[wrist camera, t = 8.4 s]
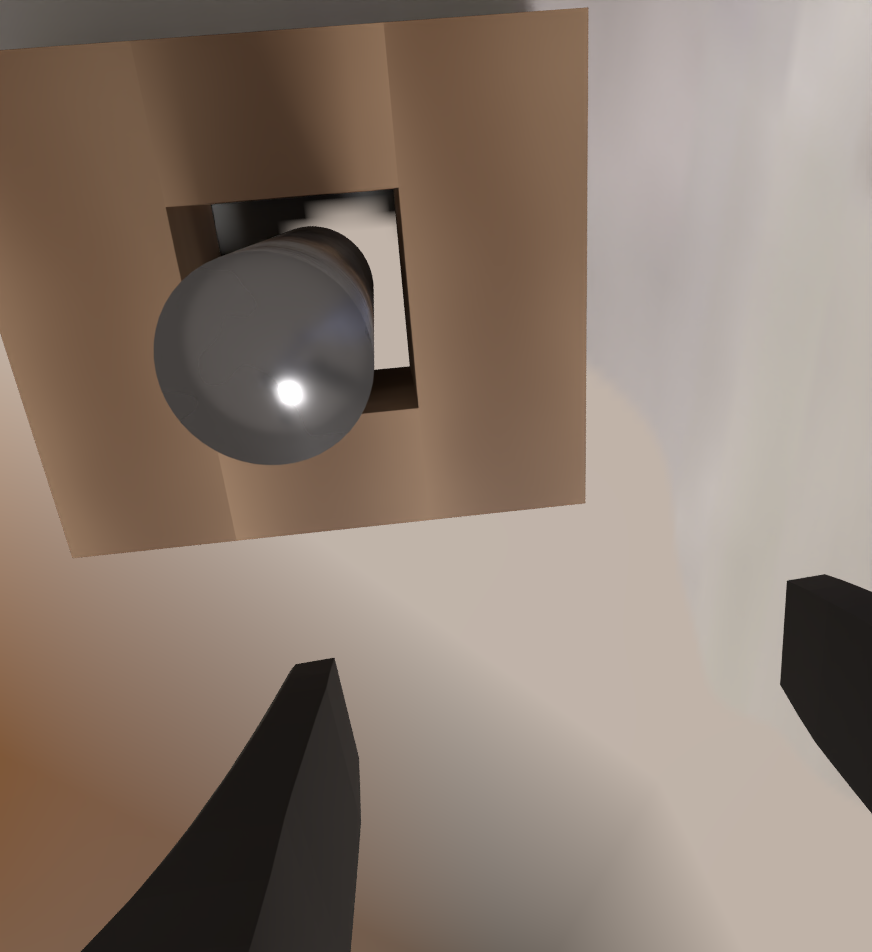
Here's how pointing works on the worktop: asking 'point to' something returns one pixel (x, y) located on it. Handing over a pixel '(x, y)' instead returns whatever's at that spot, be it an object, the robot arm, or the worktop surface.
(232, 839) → the robot arm
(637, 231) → the worktop surface
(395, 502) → the hole block
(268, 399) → the peg
